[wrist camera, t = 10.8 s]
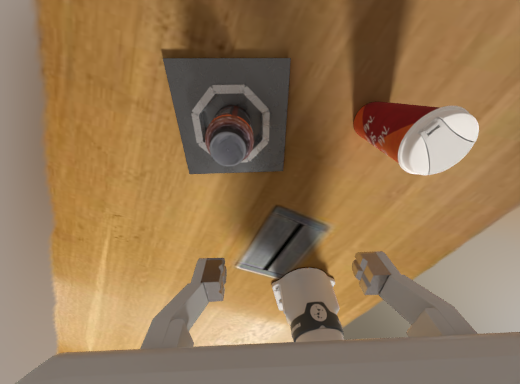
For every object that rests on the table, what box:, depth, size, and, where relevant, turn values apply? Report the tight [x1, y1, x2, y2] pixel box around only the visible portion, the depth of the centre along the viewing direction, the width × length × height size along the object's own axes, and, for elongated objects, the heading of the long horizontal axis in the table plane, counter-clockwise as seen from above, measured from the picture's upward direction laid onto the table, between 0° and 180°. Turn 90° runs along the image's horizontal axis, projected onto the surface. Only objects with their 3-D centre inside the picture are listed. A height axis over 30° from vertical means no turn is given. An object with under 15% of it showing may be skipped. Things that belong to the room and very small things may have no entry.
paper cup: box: [354, 102, 479, 175], centre depth 26 cm, size 8×8×14 cm
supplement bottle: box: [205, 105, 254, 167], centre depth 25 cm, size 6×6×11 cm
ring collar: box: [163, 58, 291, 174], centre depth 29 cm, size 17×17×4 cm
